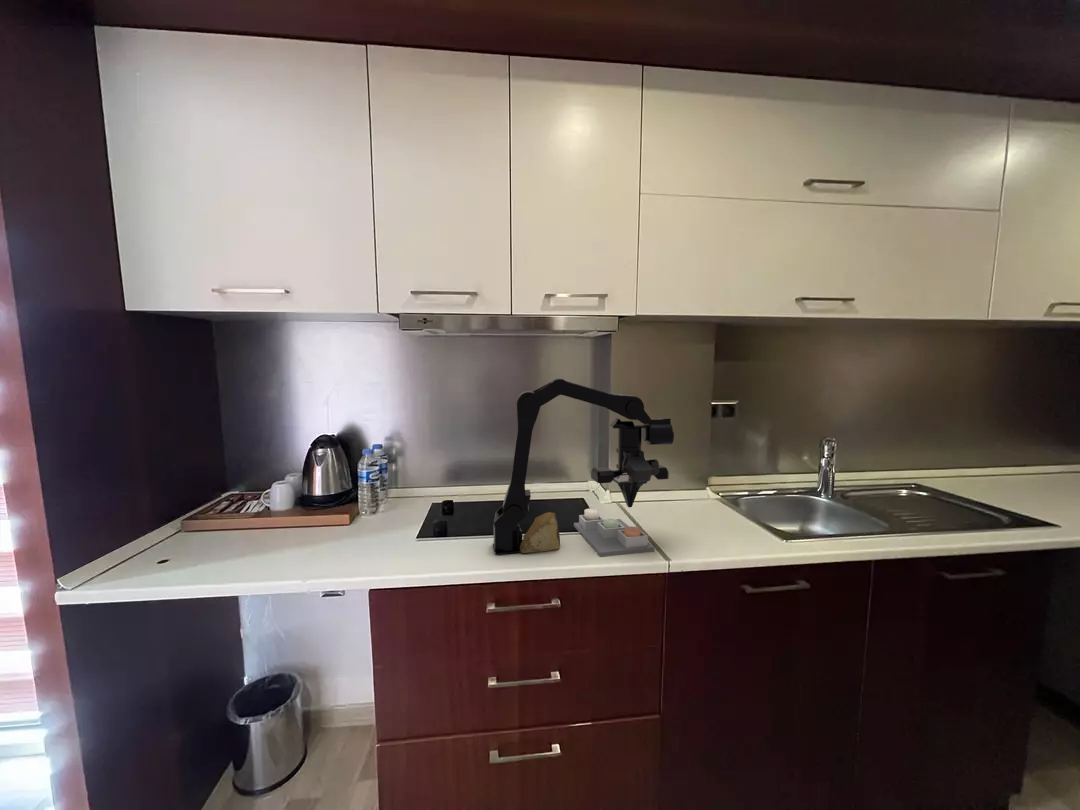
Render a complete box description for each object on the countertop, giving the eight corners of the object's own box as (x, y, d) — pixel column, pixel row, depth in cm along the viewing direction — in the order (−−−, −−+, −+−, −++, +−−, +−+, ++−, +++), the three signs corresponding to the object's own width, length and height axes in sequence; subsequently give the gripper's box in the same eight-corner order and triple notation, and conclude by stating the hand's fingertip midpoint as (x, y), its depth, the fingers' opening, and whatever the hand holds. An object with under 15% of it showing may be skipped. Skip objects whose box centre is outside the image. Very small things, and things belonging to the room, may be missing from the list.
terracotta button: (628, 544, 112) (628, 532, 112) (621, 538, 116) (621, 527, 116) (643, 543, 113) (643, 531, 113) (636, 537, 117) (636, 525, 117)
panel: (600, 556, 109) (600, 542, 108) (573, 526, 130) (573, 514, 130) (654, 551, 111) (654, 537, 111) (619, 522, 133) (619, 510, 133)
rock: (514, 549, 107) (556, 545, 106) (515, 513, 112) (555, 510, 111) (524, 560, 116) (562, 557, 115) (524, 527, 121) (561, 524, 120)
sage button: (606, 535, 118) (606, 524, 118) (601, 530, 122) (601, 519, 122) (620, 534, 119) (620, 523, 119) (615, 529, 123) (615, 518, 123)
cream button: (587, 524, 124) (587, 513, 124) (582, 519, 128) (582, 509, 128) (600, 522, 125) (600, 512, 125) (596, 518, 129) (596, 507, 129)
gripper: (605, 453, 104) (605, 520, 105) (680, 449, 107) (679, 513, 109) (590, 445, 114) (590, 506, 116) (658, 442, 118) (658, 501, 119)
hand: (629, 506), depth 115 cm, fingers closed
